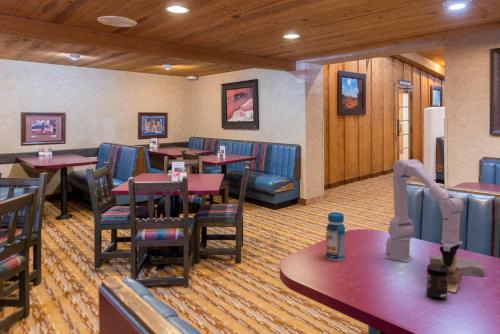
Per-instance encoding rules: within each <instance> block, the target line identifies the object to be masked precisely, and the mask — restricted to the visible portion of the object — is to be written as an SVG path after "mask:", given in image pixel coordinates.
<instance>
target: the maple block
mask: <svg viewBox="0 0 500 334" xmlns="http://www.w3.org/2000/svg"><path fill="white" fill-rule="evenodd" d="M441 256H442V255H441ZM456 261H457V255H454V257H453V261H452V265H451V267H448V269H449V271H452V272H454V271H455V270H456ZM441 265H443V266H445V265H444V260H443V256H442V257H441ZM446 267H447V266H446Z"/></svg>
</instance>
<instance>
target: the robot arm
mask: <svg viewBox="0 0 500 334" xmlns="http://www.w3.org/2000/svg"><path fill="white" fill-rule="evenodd" d="M392 167H393V168H392V169H393V170H392V171H393V175H392V184H393V185H392V188H393V209H394V211H393V212H394V216H393V218H391V219H390V221H389V227H388V229H387V231H388V232H387V233H388V234H389V236H388V237H387V239H386V241H385V259H388V260H393V261H398V262H404V263H409V262H410V261H411V259H412V257H413V256H412V255H410V252H411V250H410V247H411V245H410V244H411V240H412V237H413V236H414V235H415V232H416V231H415V226H414V224H413V219H412V218H410V217H409V206H408V187H407V186H408V184H407V182H408V181H409V180H410V179H411V177H415V178H417V180H419V181H420V182H421V183H422V184H423V185H425V187H427V188H428V193H429V195H430V196H431V197H432V198H433V199H434V201H436V202H437V203H438V204H439V205H438V206H439V210H440V212H441V216H442V222H441V223H442V225H441V226H442V227H441V239H440V242H441V244H442V246H439V251H440V253H441V256H443V260H444V265H445V266H447V267H451V265H452V261H453V257H454V255H456V254H457V252H458V249H459V248H460V246H462V245H463V241H460V225H461V212H463V211H464V210H465V202H464V201H463V199H462V198H461V197H460V196H455V195H454V194H453V193H451V192H450V191H449V190H448V189H447V188H446V185H445V184H444V183H441V182H438V183H437V181H436V180H434V178H433V177H432V176H431V175H430V174H429V173H428V172H427V170H426V169H425V168H424V164H423V163H422V162H421V161H420V160H419V159H417V158H414V159H399V160H397V161H395V162H394V164H392Z"/></svg>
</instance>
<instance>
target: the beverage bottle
mask: <svg viewBox="0 0 500 334" xmlns="http://www.w3.org/2000/svg"><path fill="white" fill-rule="evenodd" d="M327 221H328V224H327V225H326V228H325V229H326V233H325V237H326V238H325V239H326V251H325V252H326V254H325V255H326V257H325V258H327V259H328V260H331V261H336V262H337V261H338V262H339V261H343V260H344V259H345V257H346V253H345V251H346V249H345V247H346V241H345V240H346V233H345V231H346V228H345V225H344V221H345V220H344V214H343V213H342V212H329V213H328V215H327Z"/></svg>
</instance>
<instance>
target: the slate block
mask: <svg viewBox="0 0 500 334" xmlns="http://www.w3.org/2000/svg"><path fill="white" fill-rule="evenodd" d="M441 257H442V255H438V254H437V255H436V254H429V264H439V265H441ZM429 264H428V265H429Z"/></svg>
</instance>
